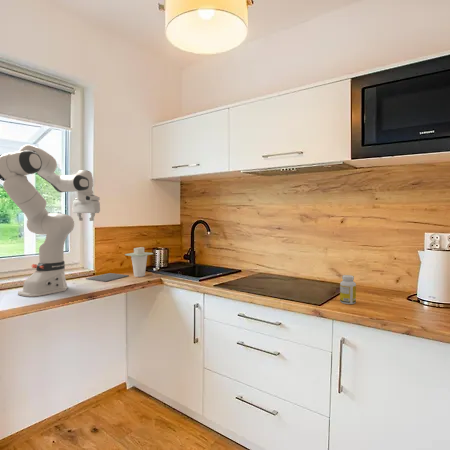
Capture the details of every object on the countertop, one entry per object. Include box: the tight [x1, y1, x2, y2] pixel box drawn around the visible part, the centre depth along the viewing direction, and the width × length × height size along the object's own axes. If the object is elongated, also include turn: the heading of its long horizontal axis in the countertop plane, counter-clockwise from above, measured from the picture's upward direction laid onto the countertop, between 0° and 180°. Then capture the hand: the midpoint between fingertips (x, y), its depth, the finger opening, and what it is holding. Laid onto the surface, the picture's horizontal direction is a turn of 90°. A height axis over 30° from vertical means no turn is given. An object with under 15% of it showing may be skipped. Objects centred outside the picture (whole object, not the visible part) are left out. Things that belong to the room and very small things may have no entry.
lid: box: [124, 246, 154, 257], centre depth 206 cm, size 12×12×4 cm
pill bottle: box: [339, 274, 357, 305], centre depth 146 cm, size 6×6×12 cm
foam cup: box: [130, 255, 148, 278], centre depth 206 cm, size 10×9×13 cm
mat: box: [85, 272, 129, 283], centre depth 201 cm, size 18×16×1 cm
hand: (86, 220), depth 202 cm, fingers open, 8 cm apart
